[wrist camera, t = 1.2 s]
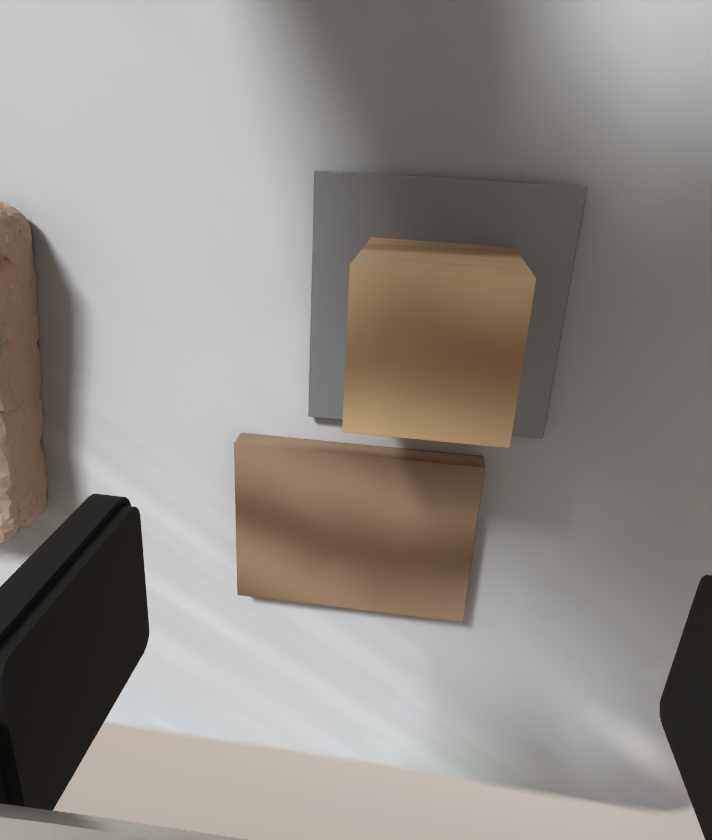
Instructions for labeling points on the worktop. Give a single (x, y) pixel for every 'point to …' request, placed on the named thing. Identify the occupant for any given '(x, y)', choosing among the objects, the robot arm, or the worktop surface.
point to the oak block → (436, 340)
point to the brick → (19, 380)
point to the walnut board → (355, 525)
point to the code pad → (452, 223)
